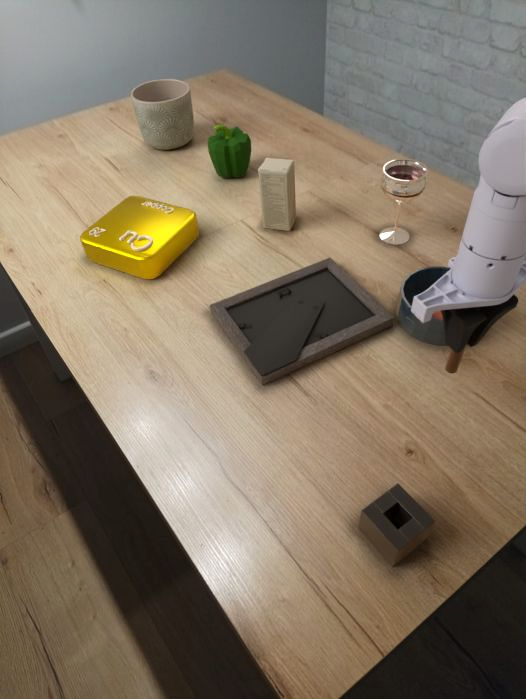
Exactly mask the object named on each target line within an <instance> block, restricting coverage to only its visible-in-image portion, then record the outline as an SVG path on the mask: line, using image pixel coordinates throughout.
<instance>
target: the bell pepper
mask: <svg viewBox="0 0 526 699" xmlns="http://www.w3.org/2000/svg"><path fill="white" fill-rule="evenodd" d="M213 129H214V131H215V133H214V135H211V136H208V139H207V142H206V144H207V151H208V155H209V157H210V160H211V163H212V166H213V169H214V170H215V172H216V174H217V175H218V176H219V177H220V178H222V179H230V178H232V177H234V178H241V177H243V176H245V175H246V174H247V172H248V170H249V167H250V163H251V157H252V156H251V155H252V140H251V137H250V136H249V134H248V133H247V132H246V133H244V131H243V130H242V129H241V128H240V127H238V126H235V127H232V128H230V129H229V127H228V126H226V125H224V124H218V125H216V126H214V127H213Z"/></svg>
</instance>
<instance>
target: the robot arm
mask: <svg viewBox="0 0 526 699" xmlns="http://www.w3.org/2000/svg"><path fill="white" fill-rule="evenodd" d="M478 170H479V172H480V174H479V181H478V185H477V187H476V188H475V190H474V192H473V195H472V199H471V203H470V207H469V210H468V213H467V217H466V221H465V225H464V228H463V232H462V235H461V240H460V242H459V247H458V249H457V250H458V251H457V254H456V256H453V257H450V258H449V259H448V262H447V267H449V268H451V269H450V270H449V271H448V272H447V273H446V274H444V275H443V276H442V277H441V278H440V279H439V280H437V281H436V282H435V283H434V284H433V285H432V286H431V287H429V288H428V289H427V290H426V291H424V292H423V293H421V294H419V295H416V296H414V299H413V303H412V308H411V312H412V313H413V314H414V315H415V316H416V317H417V318H418V319H419V320H420V321H421V322H422V323H425V322H428V321H430V320H431V318H432V315H433V313H436V312H438V311H441V314H442V317H443V322H444V331H445V343H446V344H447V345H446V346H448V347H449V348H450V350H451V349H452V350H453V351H454V352H455V353H459V352H461V351H462V350H463V349H464V348H465V346H466V347H467V345H468V346H469V347H470V348H473V347H475V346H477V345H478V344H479V343H480V342H481V340H482V339H483V338H484V337H485V335H486V334H487V333H488V332H489V331H490V330H491V329H492V327H493V326H494V325H495V324H496V323H497V322H498V321H499V320H500V319H502V317H504V316H505V315H506V314H508V313H509V312H511V311H512V310H514V309H516V308H517V306H518V303H519V298H518V297H517V296H516V293H517V292H518V291H519V290H520V289H521V288H522V287H523V286H524V285H525V284H526V97H523V98H521V99H519V100H517V101H516V102H515V103H513V104H512V105H511V106H510V107H509V108H508V109H507V110H506V111H505V112H504V114H503V115H502V117H500V119H499V121H498V122H497V123H496V124H495V126H494V127H493V128H492V130H491V131H490V133H488V135H487V137H486V138H485V140H484V142H483V143H482V146H481V147H480V150H479V153H478ZM476 307H479V310H477V309H476ZM466 344H467V345H466ZM465 349H466V348H465Z"/></svg>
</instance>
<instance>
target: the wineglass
mask: <svg viewBox="0 0 526 699" xmlns="http://www.w3.org/2000/svg"><path fill="white" fill-rule="evenodd" d="M382 171H383V174H382V175H381V179H380V185H381V186H380V187H381V191H382V193H383V194H384V195H385V196H386V197H387V199H389V200H390V201H391V202H394V203H396V211H395V212H396V213H395V220H394V226H391V227H385V228H384V229H382V230H380V232H379V238H380V239H381V241H382V242H384V243H386V244H390V245H394V246H395V245H397V246H398V245H403V244H406V243H407V242H408V241H409V240H410V238H411V237H410V234H409V232H408V231H407V230H406V229H403V228H402V227H398V225H399V220H400V218H401V212H402V207H403V205H404V204H407V203H411V202H413V201H414V200H416V199H417V198H419V197H420V196H421V194H422V193H423V192H424V190H425V188H426V185H427V181H426V180H427V179H426V178H427V177H426V176H427V174H428V172H429V171H428V167H427V166H426V164H424V163H422V162H420V161H419V160H415V159H411V158H398V159H392V160H389V161H388V162H386V163H385V164H384V165H383V167H382Z"/></svg>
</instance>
